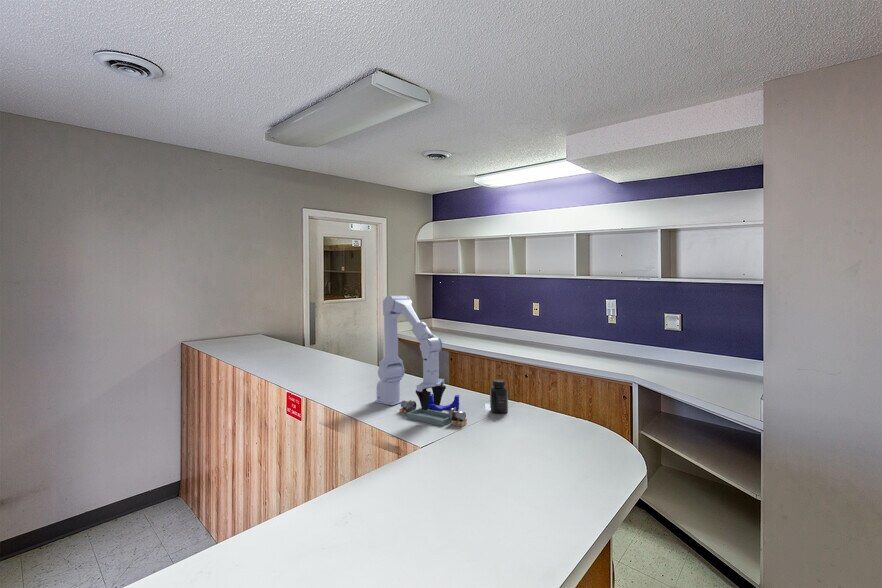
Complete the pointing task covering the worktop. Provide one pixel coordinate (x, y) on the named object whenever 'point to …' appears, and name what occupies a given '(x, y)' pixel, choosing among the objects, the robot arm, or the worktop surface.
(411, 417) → the grey-blue rectangular tray
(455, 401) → the blue bearing cap
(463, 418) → the shaft
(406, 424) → the worktop surface
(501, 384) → the supplement bottle
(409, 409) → the shaft
